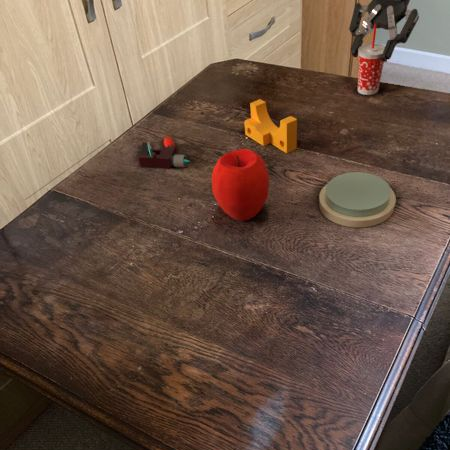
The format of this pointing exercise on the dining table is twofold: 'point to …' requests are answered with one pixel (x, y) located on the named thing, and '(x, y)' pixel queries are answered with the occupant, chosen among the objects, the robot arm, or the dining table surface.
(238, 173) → the apple
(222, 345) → the dining table surface
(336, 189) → the round push button
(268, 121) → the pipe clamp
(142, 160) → the toy gun
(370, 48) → the beverage cup
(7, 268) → the dining table surface
